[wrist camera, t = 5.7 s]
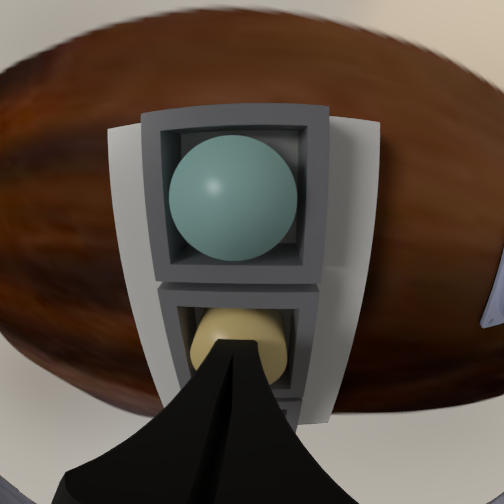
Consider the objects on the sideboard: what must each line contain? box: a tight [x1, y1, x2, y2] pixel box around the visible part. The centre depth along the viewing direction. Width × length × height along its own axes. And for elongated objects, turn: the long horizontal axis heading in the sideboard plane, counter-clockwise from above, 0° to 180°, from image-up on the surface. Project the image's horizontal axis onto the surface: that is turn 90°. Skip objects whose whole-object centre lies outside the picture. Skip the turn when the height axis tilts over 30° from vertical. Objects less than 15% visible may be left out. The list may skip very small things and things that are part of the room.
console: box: [108, 103, 380, 433], centre depth 11 cm, size 10×16×4 cm, turn 1°
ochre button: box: [190, 307, 287, 385], centre depth 10 cm, size 3×3×2 cm
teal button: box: [169, 135, 297, 261], centre depth 8 cm, size 3×3×2 cm
